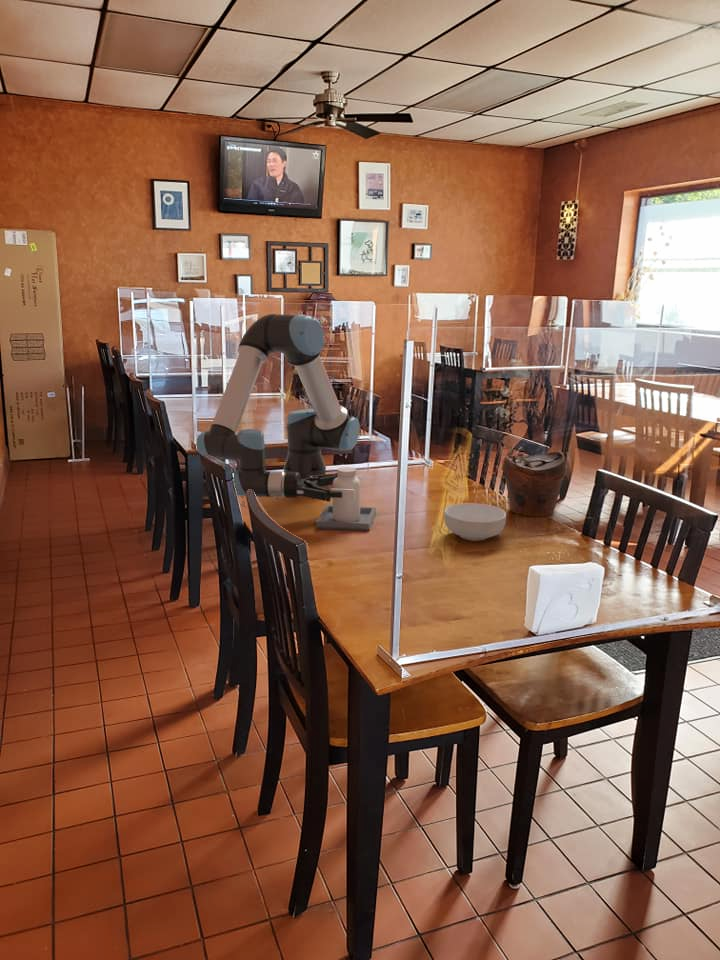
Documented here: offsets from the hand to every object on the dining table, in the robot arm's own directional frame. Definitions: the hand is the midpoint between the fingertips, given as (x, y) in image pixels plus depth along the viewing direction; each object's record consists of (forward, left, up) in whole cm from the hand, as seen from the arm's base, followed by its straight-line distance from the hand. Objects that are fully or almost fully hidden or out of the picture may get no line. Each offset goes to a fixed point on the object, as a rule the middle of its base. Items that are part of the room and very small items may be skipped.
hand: (358, 487), depth 209 cm
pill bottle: (0, -3, -10) cm, 10 cm away
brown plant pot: (-17, +50, -10) cm, 54 cm away
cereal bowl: (+7, +33, -11) cm, 36 cm away
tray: (0, -3, -10) cm, 11 cm away
